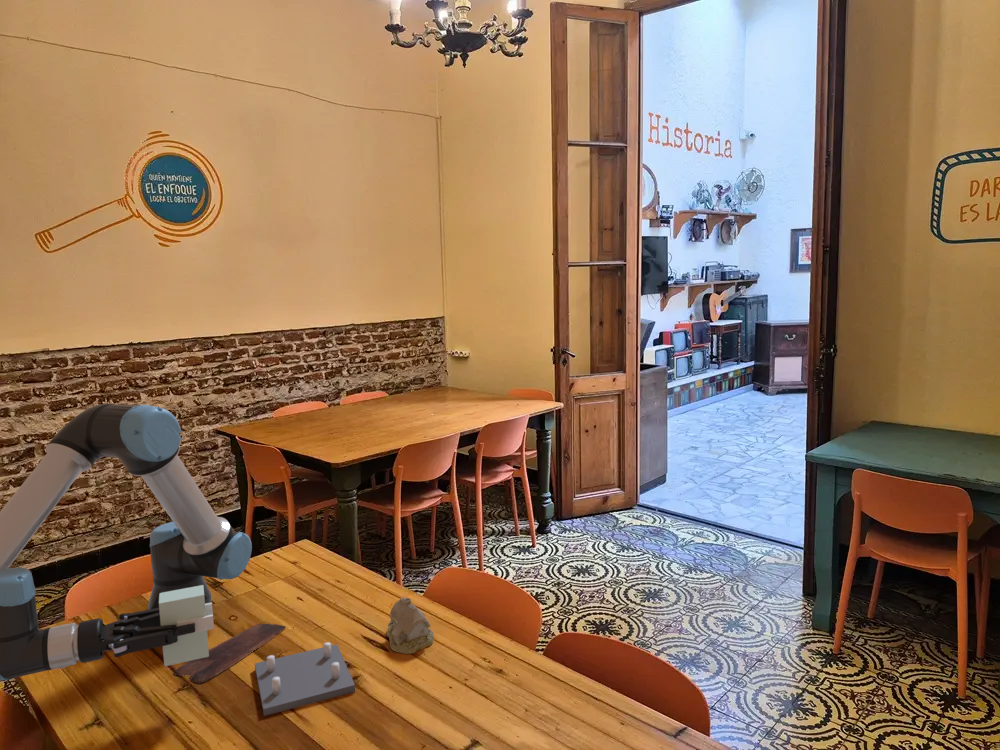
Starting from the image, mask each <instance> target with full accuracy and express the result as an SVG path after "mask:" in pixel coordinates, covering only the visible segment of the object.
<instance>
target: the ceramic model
mask: <svg viewBox="0 0 1000 750" xmlns="http://www.w3.org/2000/svg"><path fill="white" fill-rule="evenodd" d="M389 617H390V621H389V622H388V624H387V632H386V637H388V638H389V647H390V648H391V650H392V651H393V652H396V653H400V654H405V655H408V654H409V655H410V654H411V655H412V654H415V653H416V652H418V651H420V650H422V649H425V648H427V647H429V646H431V645H432V644H433V643H434V640H435V633H434V631H433V630H432V629H431V623H430V621H429V619H428V618H427V617H426V615H425V613H424V612H423V611H422V609H419V607H417V606H416V605H414V604H412V600H411V598H409V597H407V598H406V597H405V596H403V597H401V598H400V599H399V600H397V601H396V602H395V603H394V605H393V606H392V608H391V610H390V613H389ZM426 646H427V647H426ZM424 647H425V648H424ZM421 648H422V649H421ZM419 649H420V650H419Z"/></svg>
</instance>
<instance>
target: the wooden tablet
mask: <svg viewBox="0 0 1000 750" xmlns="http://www.w3.org/2000/svg"><path fill="white" fill-rule="evenodd" d="M285 629H286V626H285V625H283V624H281V625H280V624H275V623H268V624H261V623H258V624H256V625H254V626H251V627H248V628H247V629H246V630H243V631H241V632H240V633H238V634H236V635H234V636H232V637H231V638H228V639H226V640H224V641H223V642H220V643H219V644H217V645H215V646H213V647H211V648H210V649H209V648H208V649H209V657H204V658H200V659H196V660H191V661H187V662H184V664H182V665H180V666H178V668H176V669H175V670H174V673H173V675H174V674H175V675H174V676H176V675H178V676H177V677H181V676H183V675H184V676H185V675H190V677H189V676H188V677H189V678H188V680H189V679H190V680H191V681H190V680H189V681H190V682H192V681H193V682H192V683H194V682H195V683H194V684H199V685H200V684H204V683H205V682H208V681H210V680H211V679H214V678H215V677H216V676H218V675H220V674H221V673H224V672H225V671H227V670H228V669H230V668H231V667H233V666H234V665H236V664H237V663H238V662H240V661H242V660H243V659H245V658H246V657H248V656H249V655H251V654H252V653H254V652H255V651H257V650H258V649H259V648H261V647H262V646H265V644H267V643H268V642H270V641H271V640H272V639H274V638H275V637H276V636H278V635H280V634H281V633H282V632H283V631H284V630H285ZM257 648H258V649H257ZM256 649H257V650H256ZM254 650H255V651H254ZM253 651H254V652H253ZM251 652H252V653H251ZM247 655H248V656H247ZM185 677H186V676H185Z"/></svg>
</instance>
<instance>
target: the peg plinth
mask: <svg viewBox="0 0 1000 750" xmlns="http://www.w3.org/2000/svg"><path fill="white" fill-rule="evenodd" d="M254 670H255V675H256V676H255V677H256V680H257V687H258V691H259V696H260V698H259V699H260V701H261V702H260V703H261V708H262V712H263V716H264V717H266V716H270V715H274V714H277V713H280V712H284V711H289V710H291V709H295V708H299V707H303V706H307V705H310V704H311V705H312V704H314V703H319V702H322V701H324V700H329V699H333V698H336V697H341V696H344V695H349V694H351V693H356V685H355V682H354V679H353V677H352V675H351V672H350V670H349V668H348V666H347V663H346V660H345V659H344V657H343V655H342V652H341V650H340V648H339V645H338V644H337V643H336V644H332V643H331V642H330V641H328V642H324V643H323V646H322V647H318V648H315V649H311V650H305V651H301V652H298V653H293V654H289V655H285V656H281V657H278V658H277V657H276V658H275V655H273V654H271V655H268V656H266V660H264V661H259V662H255V663H254Z"/></svg>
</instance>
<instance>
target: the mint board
mask: <svg viewBox="0 0 1000 750" xmlns="http://www.w3.org/2000/svg"><path fill="white" fill-rule="evenodd" d="M159 612H160V623H161V626H166V625H176V627H177V622H178V621H183V620H188V619H193V618H198V617H203V616H206V611H205V599H204V586H203V585H200V586H195V587H190V588H184V589H179V590H174V591H168V592H163V593H160V595H159ZM177 639H178V641H177V642H176V643H173V644H170V645H165V646H162V655H163V663H164V664H163V665H164V667H168V666H172V665H173V666H174V665H177V664H181V663H187V662H188V661H191V660H196V659H200V658H204V657H209V640H208V639H209V638H208V630H206V631H202V632H197V633H192V634H188V635H183V636H177Z"/></svg>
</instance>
